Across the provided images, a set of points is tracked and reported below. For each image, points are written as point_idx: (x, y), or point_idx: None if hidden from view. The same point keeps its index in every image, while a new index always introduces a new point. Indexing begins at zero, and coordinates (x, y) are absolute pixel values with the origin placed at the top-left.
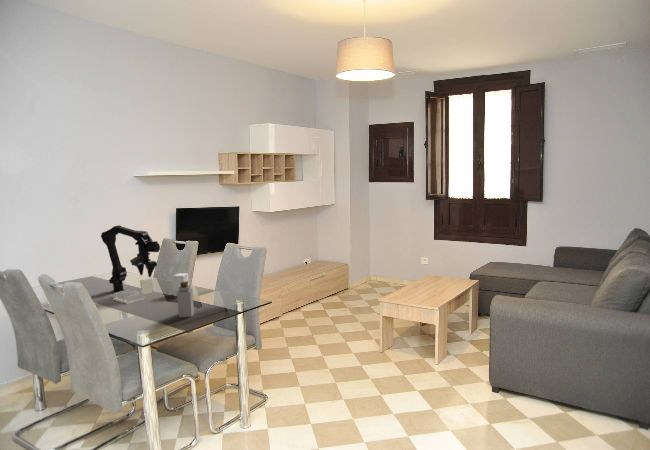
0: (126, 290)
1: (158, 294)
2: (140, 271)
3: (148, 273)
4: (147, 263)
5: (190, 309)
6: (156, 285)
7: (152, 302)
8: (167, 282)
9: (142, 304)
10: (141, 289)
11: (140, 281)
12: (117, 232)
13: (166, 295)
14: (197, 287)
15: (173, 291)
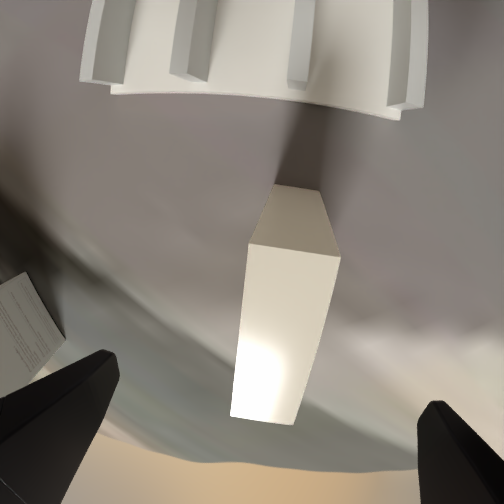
0: (409, 37)
1: (135, 256)
2: (457, 468)
3: (36, 390)
4: None
5: None
6: (388, 421)
7: (12, 85)
8: (357, 469)
9: (35, 14)
10: (304, 201)
11: (320, 244)
12: None
13: (64, 260)
14: (99, 431)
15: (4, 285)
